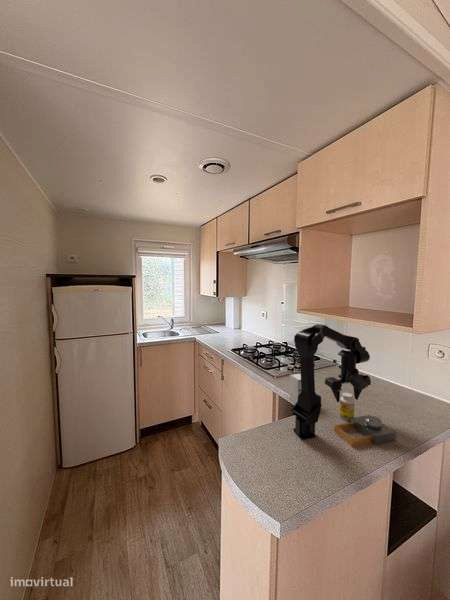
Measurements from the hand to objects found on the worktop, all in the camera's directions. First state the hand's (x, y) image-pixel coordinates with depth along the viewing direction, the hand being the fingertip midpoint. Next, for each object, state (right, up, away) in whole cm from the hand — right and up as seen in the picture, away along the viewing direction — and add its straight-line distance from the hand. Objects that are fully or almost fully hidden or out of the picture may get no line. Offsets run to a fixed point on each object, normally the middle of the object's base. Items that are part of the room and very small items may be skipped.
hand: (347, 400), depth 106 cm
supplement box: (-16, -7, +15) cm, 23 cm away
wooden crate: (0, -8, -12) cm, 14 cm away
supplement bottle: (0, -8, +1) cm, 8 cm away
